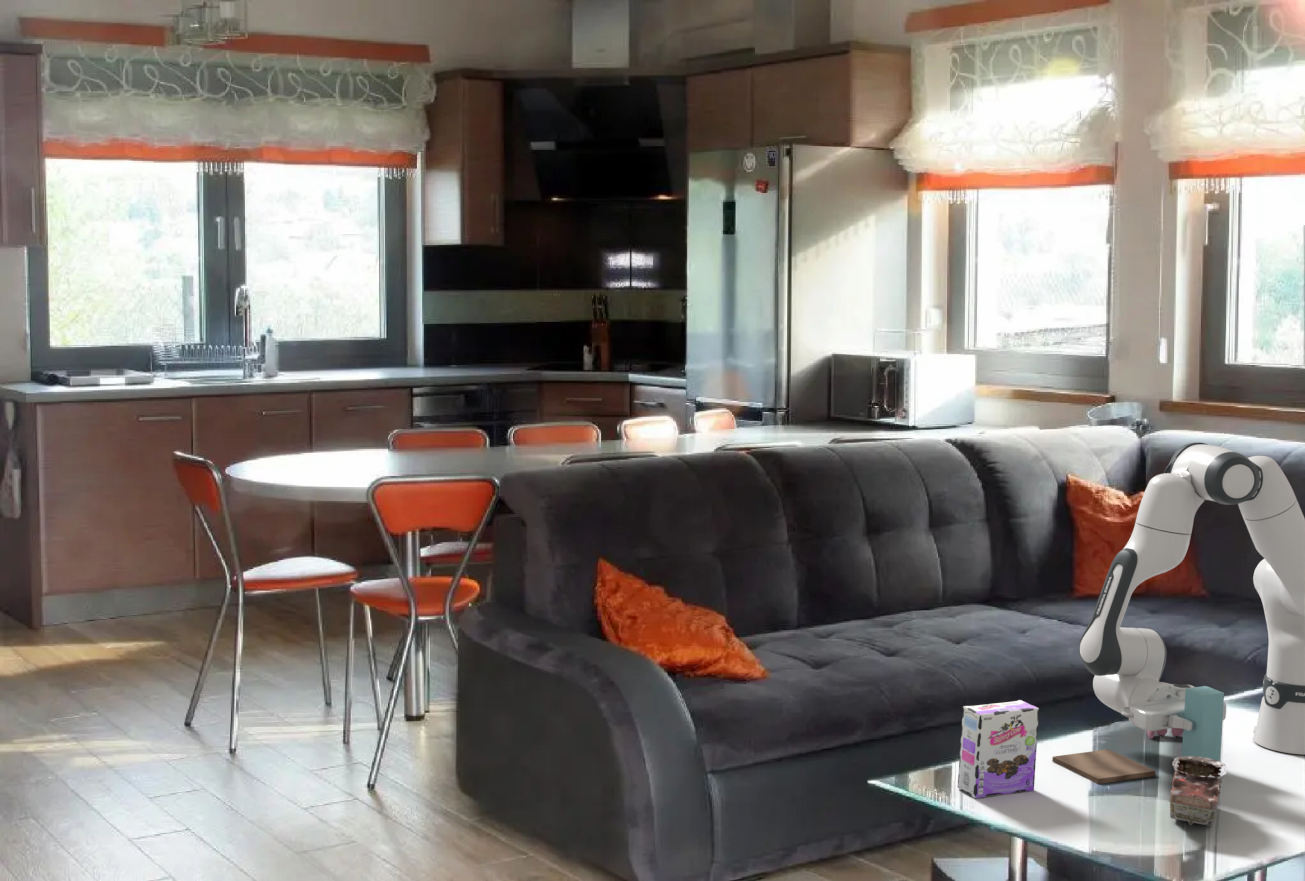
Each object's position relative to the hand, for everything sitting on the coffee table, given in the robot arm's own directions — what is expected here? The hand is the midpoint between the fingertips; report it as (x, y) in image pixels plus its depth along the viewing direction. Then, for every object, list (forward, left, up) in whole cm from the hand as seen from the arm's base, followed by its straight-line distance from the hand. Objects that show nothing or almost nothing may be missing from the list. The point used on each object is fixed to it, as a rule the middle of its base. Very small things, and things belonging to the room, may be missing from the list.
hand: (1206, 724), depth 323 cm
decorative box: (+15, +16, -12) cm, 25 cm away
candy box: (+40, -11, -12) cm, 44 cm away
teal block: (0, -1, -8) cm, 8 cm away
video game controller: (-15, -26, -12) cm, 32 cm away
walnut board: (+12, -14, -12) cm, 22 cm away
